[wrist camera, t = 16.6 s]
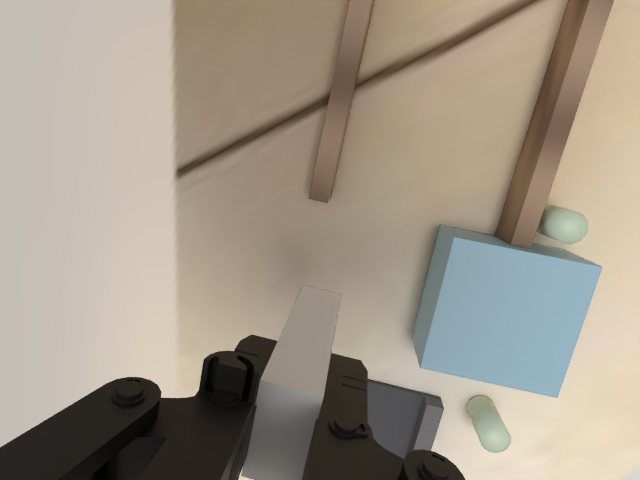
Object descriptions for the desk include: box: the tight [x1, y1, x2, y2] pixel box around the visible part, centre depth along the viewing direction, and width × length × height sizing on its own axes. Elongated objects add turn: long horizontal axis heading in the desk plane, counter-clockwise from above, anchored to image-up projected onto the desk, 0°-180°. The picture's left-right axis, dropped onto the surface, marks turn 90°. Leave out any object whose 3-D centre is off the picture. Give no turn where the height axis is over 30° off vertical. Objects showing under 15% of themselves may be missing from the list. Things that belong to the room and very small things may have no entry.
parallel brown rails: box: [308, 0, 614, 249], centre depth 21 cm, size 13×12×2 cm
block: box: [412, 225, 602, 398], centre depth 23 cm, size 7×7×4 cm
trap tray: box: [367, 379, 444, 459], centre depth 26 cm, size 7×9×1 cm
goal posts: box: [467, 204, 588, 453], centre depth 23 cm, size 14×2×3 cm, turn 168°
